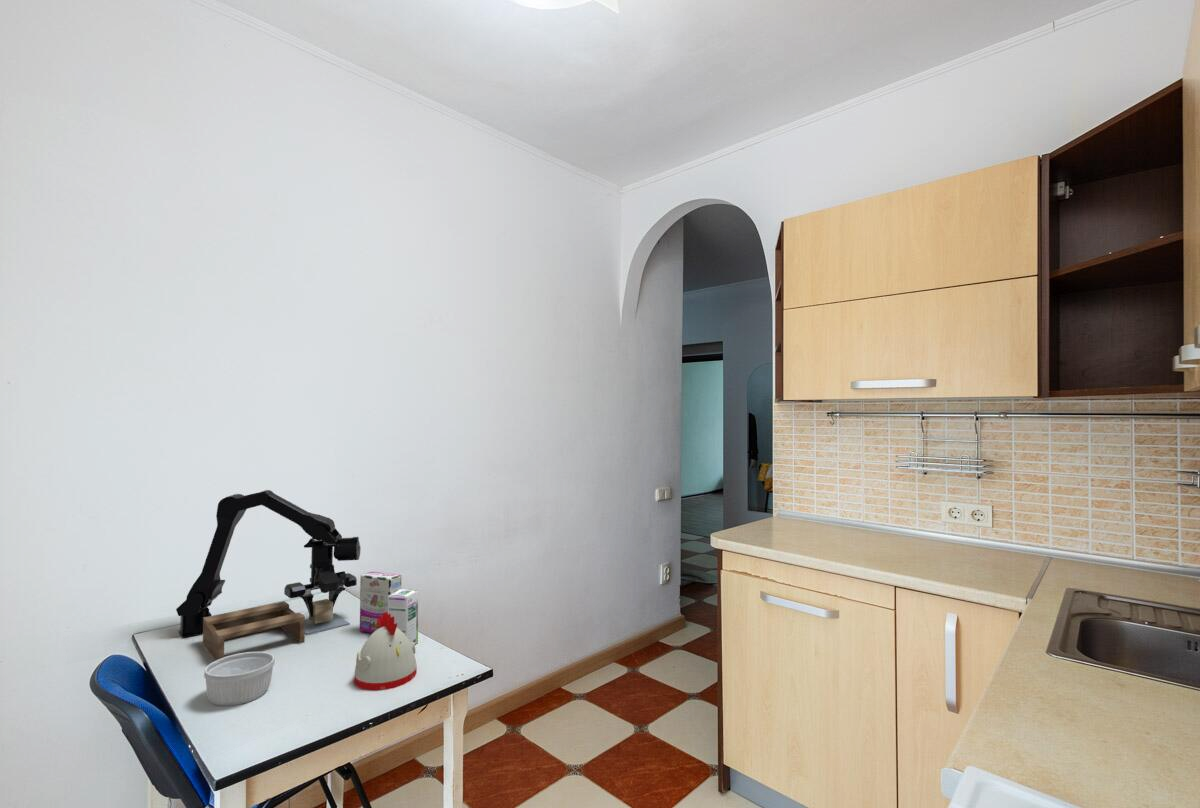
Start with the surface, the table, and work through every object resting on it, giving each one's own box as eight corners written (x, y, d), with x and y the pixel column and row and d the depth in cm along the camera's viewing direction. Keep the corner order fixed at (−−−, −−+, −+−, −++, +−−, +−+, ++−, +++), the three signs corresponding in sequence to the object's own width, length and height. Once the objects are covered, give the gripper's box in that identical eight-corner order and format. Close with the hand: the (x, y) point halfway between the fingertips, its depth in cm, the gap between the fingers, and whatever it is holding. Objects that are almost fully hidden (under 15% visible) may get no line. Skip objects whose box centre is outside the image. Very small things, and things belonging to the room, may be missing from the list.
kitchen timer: (370, 696, 126) (372, 628, 126) (344, 677, 135) (345, 613, 135) (427, 676, 136) (428, 612, 136) (398, 659, 145) (399, 600, 146)
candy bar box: (401, 632, 163) (402, 574, 164) (389, 638, 159) (390, 579, 159) (371, 626, 167) (372, 570, 168) (358, 632, 163) (359, 574, 163)
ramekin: (258, 675, 135) (258, 646, 136) (285, 691, 128) (286, 660, 128) (193, 697, 125) (194, 665, 125) (219, 716, 117) (219, 682, 117)
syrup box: (407, 651, 150) (407, 596, 150) (386, 649, 151) (387, 594, 151) (418, 643, 155) (418, 589, 156) (398, 641, 156) (399, 588, 157)
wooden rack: (218, 664, 141) (218, 636, 141) (202, 643, 154) (203, 617, 154) (304, 642, 155) (305, 616, 155) (283, 624, 168) (284, 601, 168)
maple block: (315, 623, 165) (315, 606, 165) (309, 619, 169) (309, 602, 169) (332, 619, 169) (333, 602, 169) (326, 615, 172) (327, 598, 172)
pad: (306, 635, 160) (306, 633, 160) (292, 624, 169) (292, 622, 169) (349, 624, 169) (349, 622, 169) (334, 614, 177) (334, 612, 177)
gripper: (297, 572, 157) (295, 629, 156) (364, 561, 170) (363, 613, 170) (284, 565, 165) (283, 619, 164) (349, 554, 178) (348, 604, 177)
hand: (320, 614), depth 169 cm, fingers closed on maple block, 5 cm apart
